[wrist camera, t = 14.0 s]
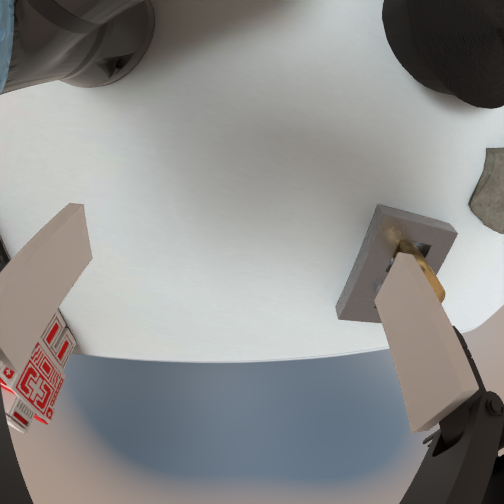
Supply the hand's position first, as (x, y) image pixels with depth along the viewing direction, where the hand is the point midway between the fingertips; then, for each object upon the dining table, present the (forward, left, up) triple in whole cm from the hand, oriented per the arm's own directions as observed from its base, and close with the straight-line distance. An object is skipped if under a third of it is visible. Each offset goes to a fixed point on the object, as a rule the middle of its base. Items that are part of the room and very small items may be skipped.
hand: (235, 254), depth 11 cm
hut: (-20, +21, -27) cm, 40 cm away
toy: (+48, -42, -27) cm, 69 cm away
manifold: (+17, +25, -27) cm, 40 cm away
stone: (-3, +42, -27) cm, 50 cm away
